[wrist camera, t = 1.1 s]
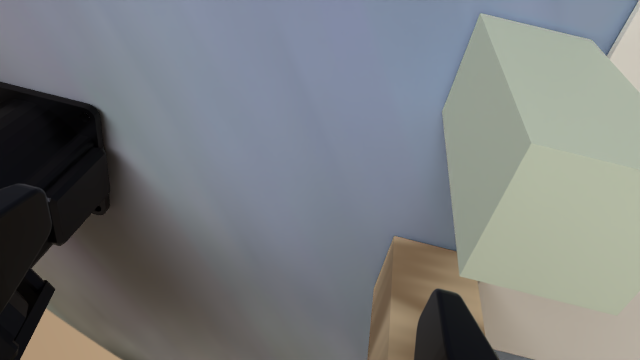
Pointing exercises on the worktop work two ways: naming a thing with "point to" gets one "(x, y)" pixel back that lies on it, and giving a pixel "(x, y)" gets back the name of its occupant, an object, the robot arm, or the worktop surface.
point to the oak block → (413, 295)
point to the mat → (558, 317)
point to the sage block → (545, 166)
